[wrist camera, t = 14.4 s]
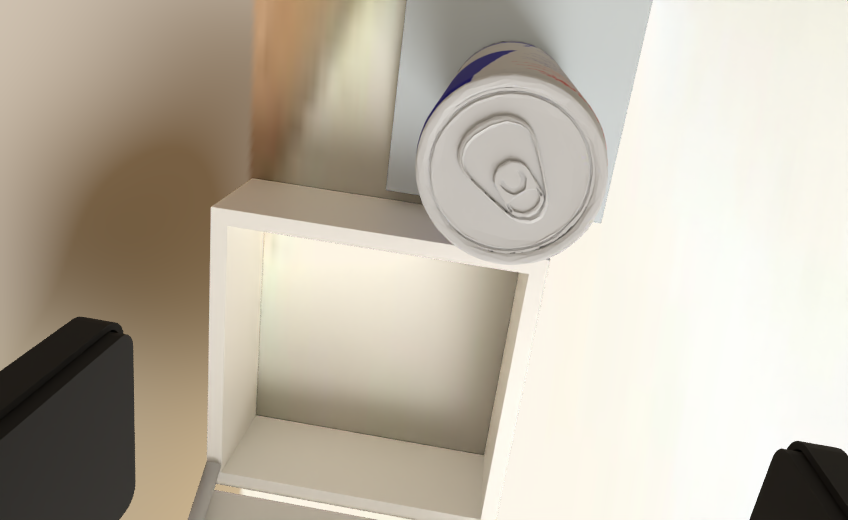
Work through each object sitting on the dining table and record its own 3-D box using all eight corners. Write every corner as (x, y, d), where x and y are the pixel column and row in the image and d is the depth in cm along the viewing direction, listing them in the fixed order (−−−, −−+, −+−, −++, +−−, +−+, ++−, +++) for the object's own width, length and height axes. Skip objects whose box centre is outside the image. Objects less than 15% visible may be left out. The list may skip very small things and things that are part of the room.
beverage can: (479, 20, 32) (457, 36, 18) (589, 69, 32) (651, 122, 18) (432, 131, 34) (381, 222, 20) (536, 177, 34) (556, 297, 20)
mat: (598, 218, 36) (601, 223, 35) (388, 186, 36) (385, 189, 36) (651, -10, 32) (655, -10, 31) (413, -42, 32) (411, -43, 32)
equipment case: (474, 571, 45) (454, 916, 28) (238, 527, 46) (82, 835, 29) (543, 223, 36) (575, 418, 19) (252, 178, 37) (39, 326, 20)
